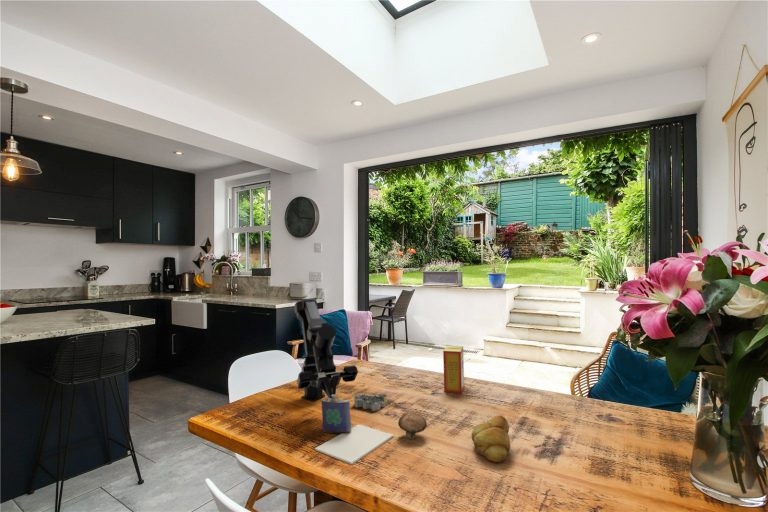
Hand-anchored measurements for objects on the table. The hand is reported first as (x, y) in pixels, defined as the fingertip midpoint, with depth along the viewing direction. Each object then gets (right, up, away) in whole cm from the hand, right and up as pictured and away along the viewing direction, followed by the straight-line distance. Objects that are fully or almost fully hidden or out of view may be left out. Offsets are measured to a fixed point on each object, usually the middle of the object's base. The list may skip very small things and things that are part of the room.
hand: (333, 401), depth 114 cm
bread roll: (+43, -7, -17) cm, 47 cm away
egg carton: (+10, -8, +17) cm, 22 cm away
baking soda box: (+43, -8, +33) cm, 55 cm away
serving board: (+8, -7, -11) cm, 15 cm away
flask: (+2, -8, -4) cm, 9 cm away
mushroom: (+24, -7, -7) cm, 26 cm away
